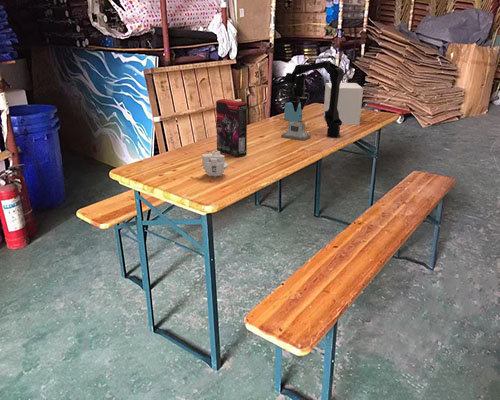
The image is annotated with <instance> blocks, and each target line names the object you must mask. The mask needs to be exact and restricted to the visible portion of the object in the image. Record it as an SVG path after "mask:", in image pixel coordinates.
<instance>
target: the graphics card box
mask: <svg viewBox="0 0 500 400" xmlns="http://www.w3.org/2000/svg"><path fill="white" fill-rule="evenodd" d="M215 109H216V110H215V111H216V114H215V115H216V116H215V117H216V152H217V151H220V153H224V154H227V155H231V156H235V157H238V158H239V157H243V156H246V155H247V149H248V145H247V142H248V139H247V136H248V134H247V132H248V127H247V125H248V123H247V122H248V120H247V118H248V116H247V115H248V114H247V112H248V110H247V109H248V103H247V102H243V101H238V100H234V99H233V100H232V99H227V98H220V99H217V100H216V101H215Z"/></svg>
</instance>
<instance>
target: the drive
mask: <svg viewBox="0 0 500 400" xmlns="http://www.w3.org/2000/svg"><path fill="white" fill-rule="evenodd" d="M305 128H306V123H305V122H292V121H288V123H287V132H288V135H295V136H302V133H304V134H305Z"/></svg>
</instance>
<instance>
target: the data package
mask: <svg viewBox="0 0 500 400" xmlns="http://www.w3.org/2000/svg"><path fill="white" fill-rule="evenodd" d="M283 114H284V118H283V119H284V121H286V122H287V121H288V122H291V121H292V122H299V123H301V121H303V110H301V103H299V106H298V109H297V112H295V111H294V108H293V104H292V103H291V102H290V101H289V102H285V104H284V112H283Z"/></svg>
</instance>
